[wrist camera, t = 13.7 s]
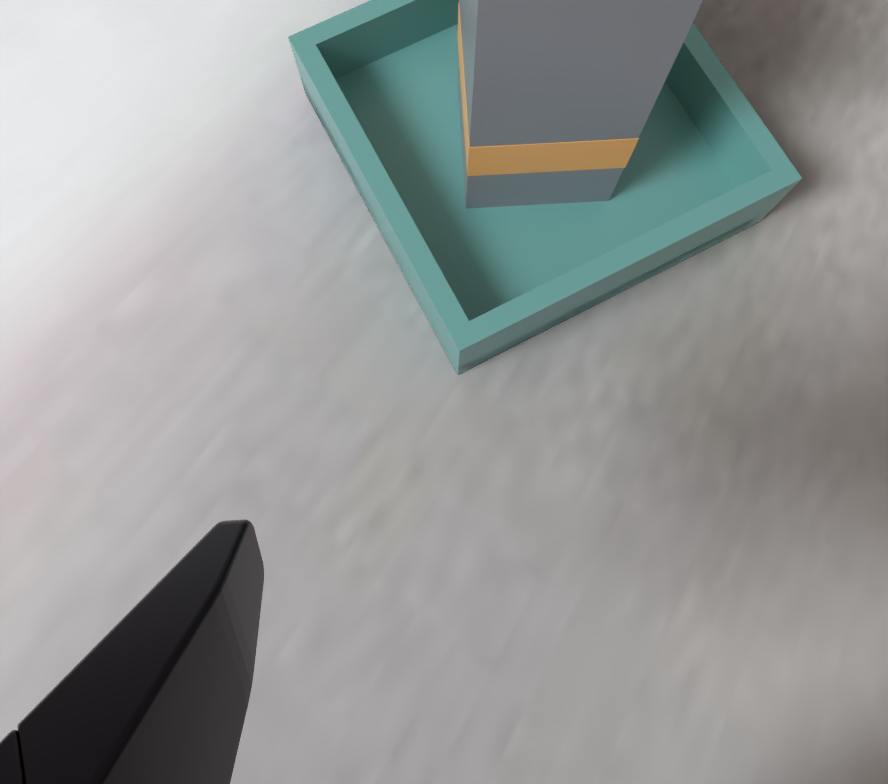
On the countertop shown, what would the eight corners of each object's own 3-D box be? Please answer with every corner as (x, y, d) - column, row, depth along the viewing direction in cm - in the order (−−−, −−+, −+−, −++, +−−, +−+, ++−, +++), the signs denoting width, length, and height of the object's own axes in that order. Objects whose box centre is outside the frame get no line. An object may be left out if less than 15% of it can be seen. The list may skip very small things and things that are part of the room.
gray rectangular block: (609, 201, 24) (739, -74, 13) (465, 209, 24) (480, -61, 13) (594, 75, 25) (703, -272, 15) (456, 82, 25) (464, -262, 15)
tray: (760, 221, 25) (802, 178, 22) (457, 374, 24) (459, 351, 21) (588, -35, 28) (605, -104, 25) (305, 93, 26) (288, 37, 23)
